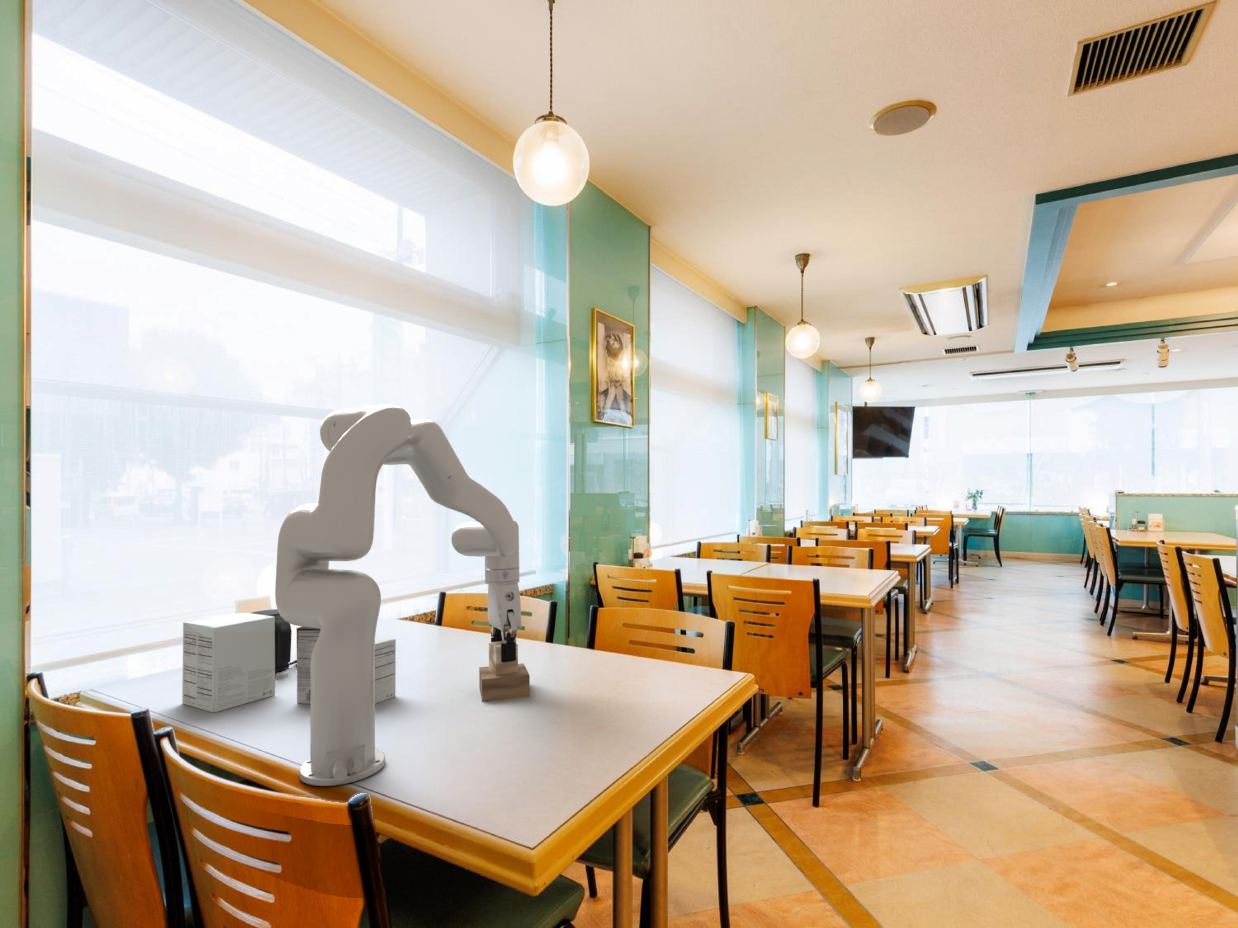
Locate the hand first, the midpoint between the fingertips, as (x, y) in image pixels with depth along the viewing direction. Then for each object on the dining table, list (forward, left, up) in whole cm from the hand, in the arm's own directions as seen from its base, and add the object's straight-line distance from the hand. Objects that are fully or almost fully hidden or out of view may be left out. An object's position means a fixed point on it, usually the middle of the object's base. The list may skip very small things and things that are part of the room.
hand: (503, 657), depth 142 cm
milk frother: (+52, +41, -8) cm, 67 cm away
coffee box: (+18, +35, -8) cm, 40 cm away
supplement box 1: (+28, +53, -8) cm, 60 cm away
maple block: (0, 0, -3) cm, 3 cm away
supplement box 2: (+11, +26, -8) cm, 29 cm away
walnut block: (0, 0, -8) cm, 8 cm away
